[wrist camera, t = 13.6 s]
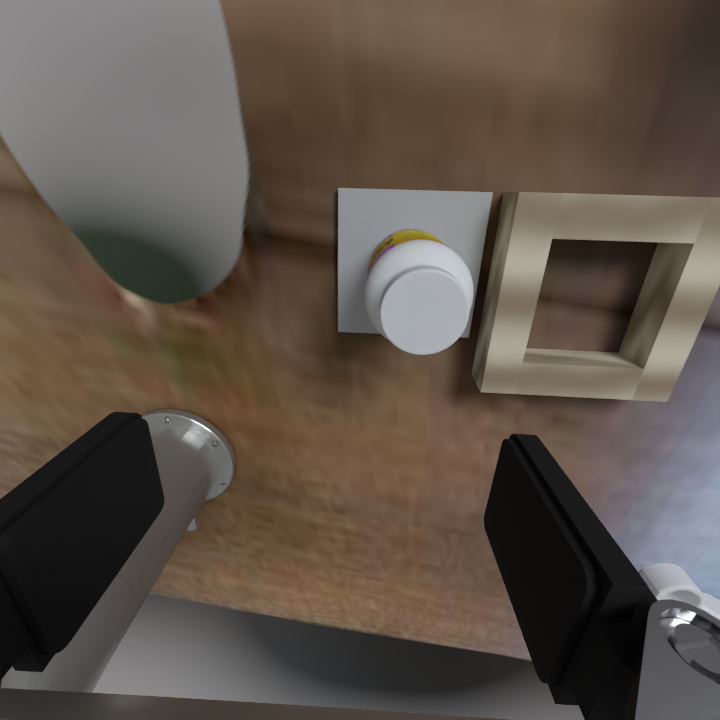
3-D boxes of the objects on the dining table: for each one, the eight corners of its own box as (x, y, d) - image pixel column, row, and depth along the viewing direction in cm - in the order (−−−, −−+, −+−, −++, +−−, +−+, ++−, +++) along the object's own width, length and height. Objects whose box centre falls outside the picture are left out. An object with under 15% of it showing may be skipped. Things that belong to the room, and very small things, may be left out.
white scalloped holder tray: (646, 653, 52) (554, 630, 51) (734, 578, 45) (629, 549, 44) (662, 682, 49) (565, 658, 48) (760, 606, 42) (648, 576, 41)
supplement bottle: (385, 215, 28) (388, 226, 17) (461, 244, 29) (515, 274, 17) (358, 292, 31) (344, 349, 19) (428, 317, 32) (455, 386, 20)
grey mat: (467, 335, 33) (468, 337, 32) (338, 329, 33) (337, 331, 33) (490, 192, 28) (492, 192, 27) (338, 188, 28) (338, 188, 28)
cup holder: (640, 382, 34) (667, 401, 31) (471, 374, 34) (480, 392, 31) (714, 198, 27) (758, 198, 24) (503, 192, 28) (519, 191, 25)
